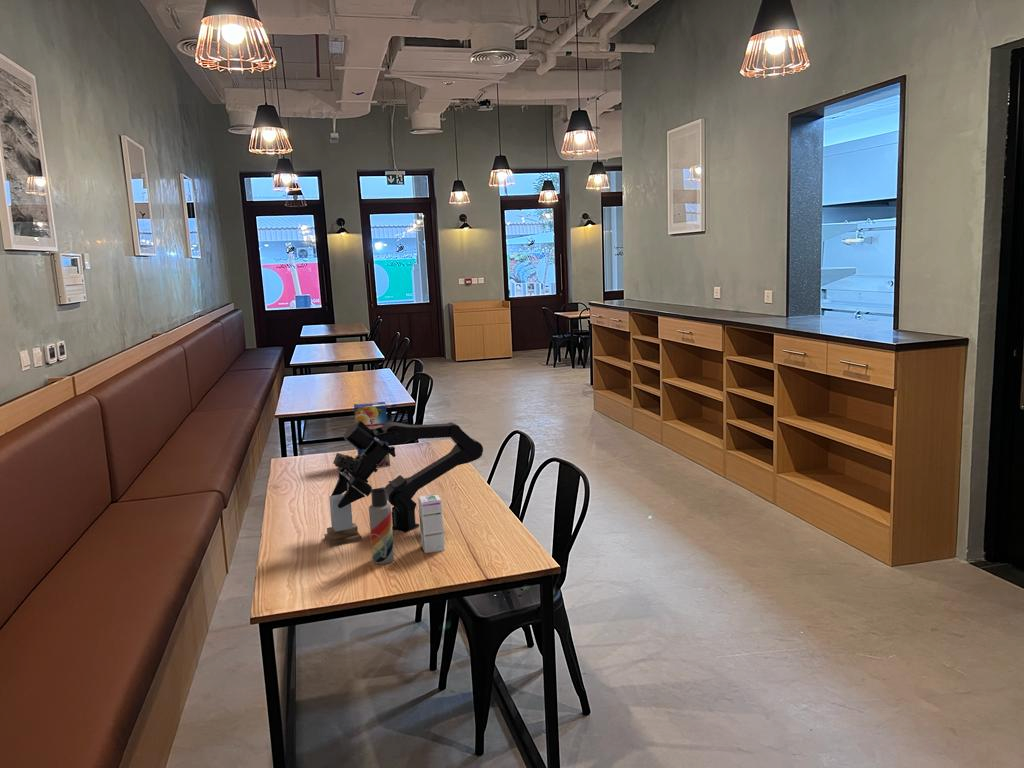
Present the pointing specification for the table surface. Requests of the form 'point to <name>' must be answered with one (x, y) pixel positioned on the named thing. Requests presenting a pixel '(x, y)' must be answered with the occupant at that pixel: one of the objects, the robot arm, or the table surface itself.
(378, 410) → the juice carton
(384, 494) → the lotion bottle
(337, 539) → the walnut ridge
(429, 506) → the syrup box
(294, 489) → the table surface
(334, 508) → the slate post
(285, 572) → the table surface
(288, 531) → the table surface
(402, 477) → the robot arm
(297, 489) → the table surface
